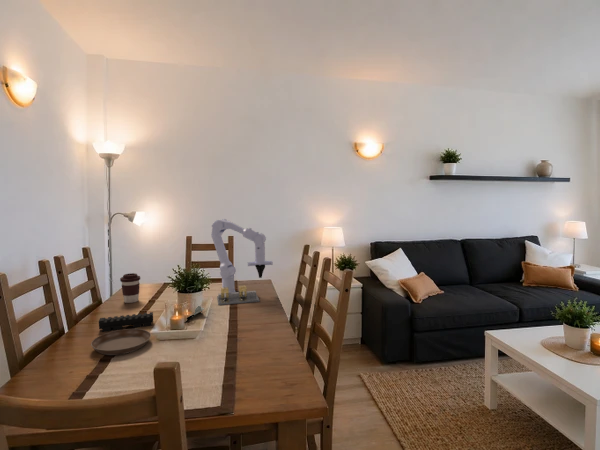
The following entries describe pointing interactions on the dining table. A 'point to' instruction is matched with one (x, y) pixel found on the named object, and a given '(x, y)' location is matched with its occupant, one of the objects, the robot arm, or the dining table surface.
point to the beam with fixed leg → (232, 294)
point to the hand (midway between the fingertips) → (260, 277)
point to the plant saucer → (121, 341)
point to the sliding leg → (242, 291)
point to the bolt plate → (238, 300)
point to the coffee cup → (130, 287)
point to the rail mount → (125, 321)
